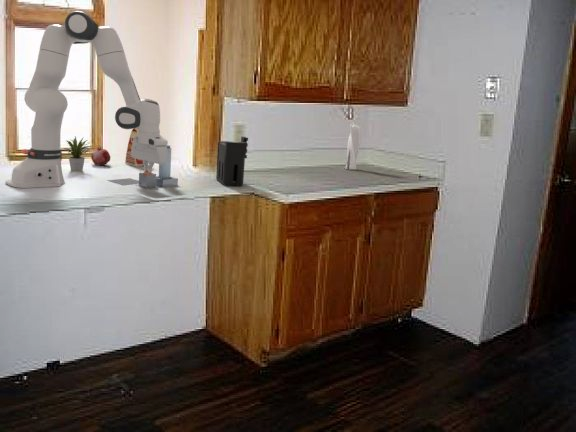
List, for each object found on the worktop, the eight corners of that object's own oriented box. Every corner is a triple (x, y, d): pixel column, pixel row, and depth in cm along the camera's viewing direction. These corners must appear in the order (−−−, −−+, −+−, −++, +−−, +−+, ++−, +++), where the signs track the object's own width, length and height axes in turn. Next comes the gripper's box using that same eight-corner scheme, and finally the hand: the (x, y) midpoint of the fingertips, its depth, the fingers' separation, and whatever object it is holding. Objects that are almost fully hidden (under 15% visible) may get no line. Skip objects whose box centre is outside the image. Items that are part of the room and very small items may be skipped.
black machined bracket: (224, 186, 270) (227, 138, 265) (213, 178, 288) (216, 133, 283) (249, 187, 274) (252, 139, 269) (236, 178, 293) (239, 134, 288)
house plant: (82, 175, 269) (82, 139, 265) (54, 171, 271) (54, 136, 267) (97, 170, 282) (97, 136, 279) (70, 167, 284) (70, 133, 281)
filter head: (148, 191, 246) (149, 175, 245) (134, 187, 252) (134, 171, 251) (178, 187, 258) (179, 173, 257) (164, 183, 264) (164, 169, 263)
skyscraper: (341, 167, 360) (346, 121, 354) (353, 168, 363) (358, 122, 356) (346, 170, 352) (352, 122, 346) (359, 170, 355) (364, 123, 348)
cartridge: (163, 185, 255) (164, 146, 251) (156, 183, 258) (157, 145, 254) (172, 184, 258) (173, 146, 255) (165, 182, 262) (166, 144, 258)
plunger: (146, 177, 248) (146, 172, 248) (142, 176, 250) (142, 171, 250) (152, 176, 251) (153, 172, 250) (148, 175, 252) (148, 170, 252)
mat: (122, 187, 249) (122, 185, 249) (106, 182, 256) (106, 180, 256) (146, 185, 258) (146, 182, 258) (129, 180, 266) (129, 178, 265)
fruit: (109, 163, 304) (109, 144, 302) (111, 166, 296) (111, 147, 294) (90, 163, 301) (90, 143, 299) (91, 166, 292) (92, 146, 290)
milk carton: (135, 166, 304) (136, 127, 299) (124, 163, 309) (125, 124, 305) (149, 164, 311) (150, 126, 307) (138, 162, 317) (139, 124, 312)
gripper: (127, 135, 251) (127, 168, 254) (158, 142, 238) (157, 176, 242) (139, 135, 256) (139, 167, 259) (170, 141, 243) (169, 174, 246)
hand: (148, 171), depth 250 cm, fingers closed
